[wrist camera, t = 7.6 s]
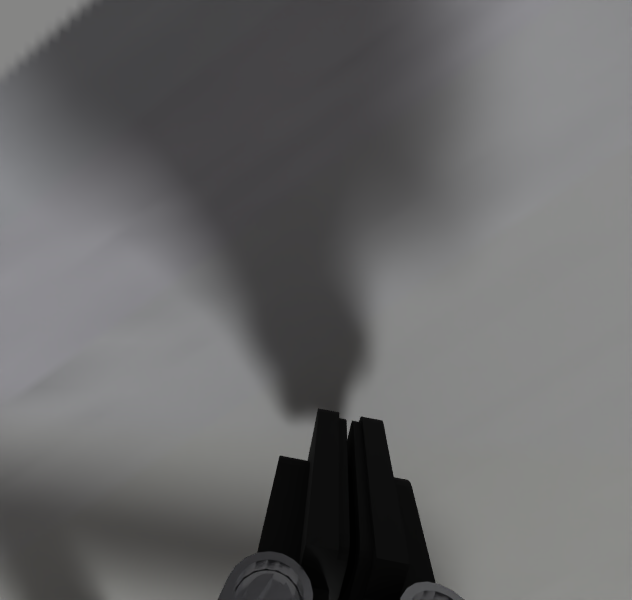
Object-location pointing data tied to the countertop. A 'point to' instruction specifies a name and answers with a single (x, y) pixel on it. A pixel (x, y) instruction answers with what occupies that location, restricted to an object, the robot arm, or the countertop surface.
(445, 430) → the countertop surface
